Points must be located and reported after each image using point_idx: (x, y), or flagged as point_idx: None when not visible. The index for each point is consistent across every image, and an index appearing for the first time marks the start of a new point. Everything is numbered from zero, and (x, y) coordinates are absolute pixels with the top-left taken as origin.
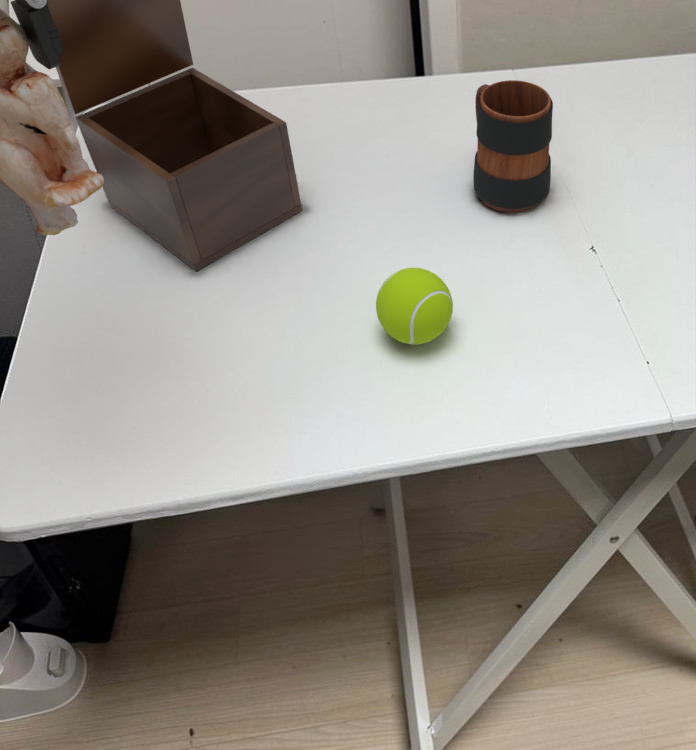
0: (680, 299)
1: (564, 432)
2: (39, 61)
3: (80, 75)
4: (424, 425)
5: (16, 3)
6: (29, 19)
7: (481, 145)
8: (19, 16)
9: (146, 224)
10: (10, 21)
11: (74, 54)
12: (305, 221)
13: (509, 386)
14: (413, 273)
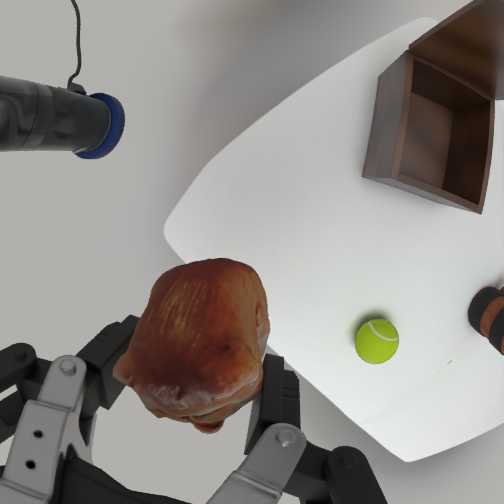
0: (423, 402)
1: (335, 404)
2: (262, 364)
3: (435, 48)
4: (313, 363)
5: (259, 428)
6: (246, 442)
7: (496, 313)
8: (257, 410)
9: (375, 121)
10: (235, 408)
11: (446, 43)
12: (432, 211)
13: (352, 380)
14: (387, 352)
